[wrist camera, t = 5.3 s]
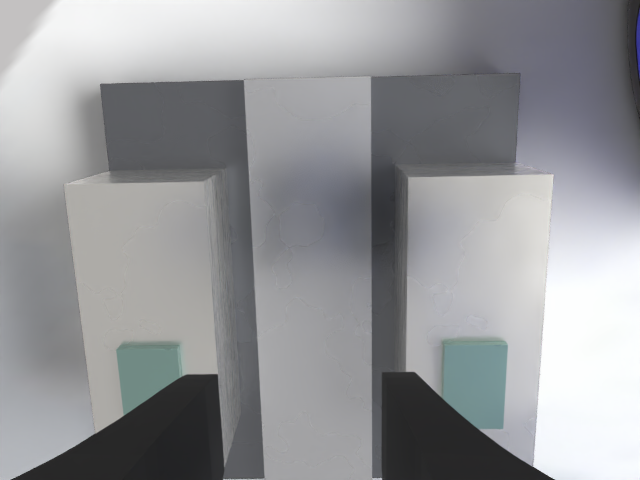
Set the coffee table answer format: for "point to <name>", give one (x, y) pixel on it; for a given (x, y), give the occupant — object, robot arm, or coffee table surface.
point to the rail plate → (315, 259)
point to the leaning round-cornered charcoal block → (634, 47)
